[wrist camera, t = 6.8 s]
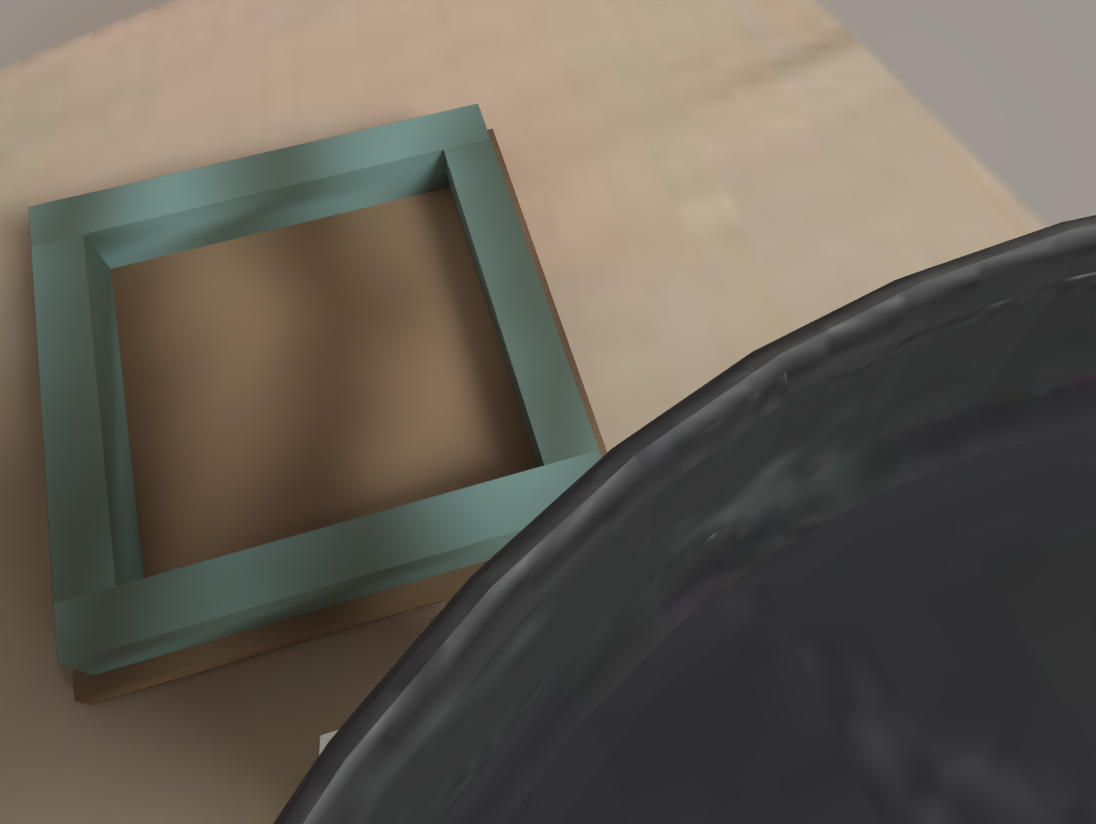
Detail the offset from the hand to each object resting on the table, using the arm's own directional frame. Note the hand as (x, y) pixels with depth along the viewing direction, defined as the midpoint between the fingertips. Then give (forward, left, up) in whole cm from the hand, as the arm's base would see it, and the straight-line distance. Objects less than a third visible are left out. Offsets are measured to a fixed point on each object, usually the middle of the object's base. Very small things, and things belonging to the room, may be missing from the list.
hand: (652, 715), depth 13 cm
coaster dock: (-5, +13, -11) cm, 17 cm away
